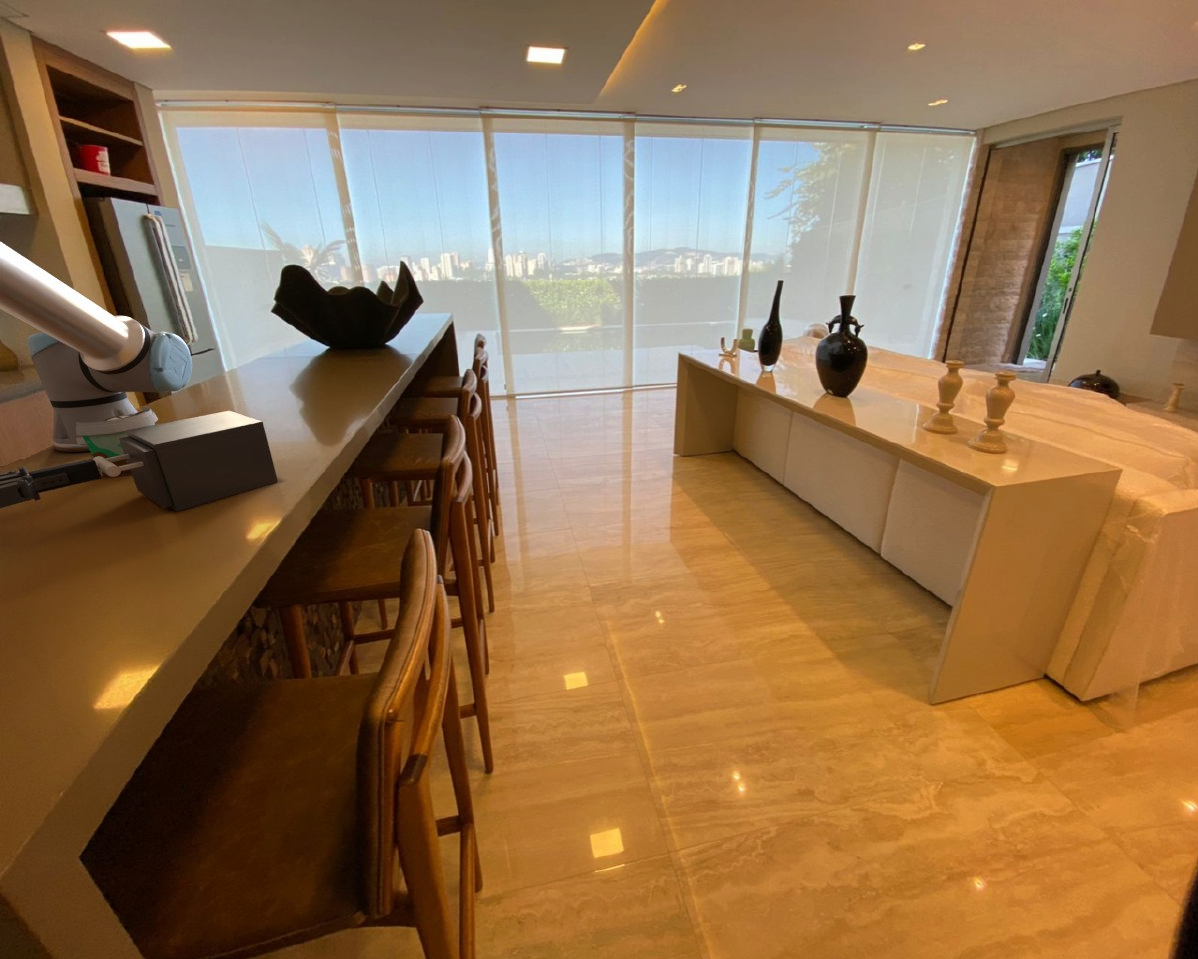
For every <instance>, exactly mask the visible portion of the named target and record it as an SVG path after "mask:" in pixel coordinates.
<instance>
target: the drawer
mask: <svg viewBox="0 0 1198 959" xmlns="http://www.w3.org/2000/svg"><path fill="white" fill-rule="evenodd" d="M119 441H120V443H121V446H122V449H123V451H124V454H125V455H120V456H115V457H111V458H106V459H105V458H103V457H100V456H98V457H95V458H93V457H92V459H93V460H95V462H96V465H97V467H98V470H99V471H100V470H101V471H103V472H104V473H106V474H107V475H109V476H108V477H112V478H114V477H115V478H116V477H119V476H118V475H119V474H120V473H121V471H124V470H128V469H130V471H131V473H132V474H131V476H132V479H133V481H134V485H135V488H136V490H137V492H138V493H140V494H142V495H143V496H145V497H146V498H147V499H149V500H151V501H153V502H154V503H156V504H157V505H158V506H160V507H161V508H163V509H166V508H170V506H173V503H172V500H171V497H170V494H169V491H168V488H167V485H166V482H165V479H164V476H163V474H162V471H161V468H160V465H159V462H158V459H157V456H156V453H155V450H154V449H153V448H151V447H149V446H147V445H146V444H144V443H143V444H142V443H140V442H138V441H136V440H134V439H132V438H130V437H124V438H119ZM124 459H126V460H127V462H128V465H123V466H119V467H118V466H116V465H115V464H113V463H111V462H115V461H119V460H124ZM101 471H100V472H101Z"/></svg>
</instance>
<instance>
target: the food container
mask: <svg viewBox="0 0 1198 959" xmlns="http://www.w3.org/2000/svg"><path fill="white" fill-rule="evenodd" d="M141 409H142V410H141V411H137V412H138V413H135V414H130V415H124V416H115V417H111V418H108V419H106V420H103V421H101V422H90V423H76V425H77V427H76V433H77V435H82V437H83V439H84V440H85V442H86V444H87V446H88V448H89V450H90V451H89V452H90V454H91V456H92V459H93V458H95V457H98V456H100V457H103V458H105V459H106V458H111V457H115V456H120V455H125V454H124V451H123V449H122V446H121V443H120V441H119V438H124V437H128V436H127V434H126V430H130V429H136V428H141V427H146V426H152V425H156V424H155V423H156V422H157V421H159V418H158V417H157V415H156V413H155V411H154V410H152V408H150V407H149V406H141ZM111 463H113V464H115V465H116V466H118V467H119V466H123V465H128V462H127V460H126V459H124V460H119V461H115V462H111ZM99 472H100V474H102V476H103V477H110V476H109V475H107V474H106V473H104V472H103V471H101V470H100V469H99ZM126 475H132V473H131V471H130V469H128V470H124V471H121V473H120V474H119V475H118V476H117V477H119V476H120V477H121V476H126Z"/></svg>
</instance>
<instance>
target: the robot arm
mask: <svg viewBox="0 0 1198 959" xmlns="http://www.w3.org/2000/svg"><path fill="white" fill-rule="evenodd" d="M0 310H2V311H3V312H5V313H6V314H9V315H11V316H12V317H14V318H15V319H18V320H19V321H22V322H23V323H26V324H27V325H29V326H31V327H33V328H35V330H36V329H37V330H38V331H40V332H37V333H33V334H31V335H29V336H28V338H27V340H26V344H27V347H28V350H29V353H30V358H31V361H32V363H33V365H34V368H35V369H36V372H37V375H38V377H39V379H40V382H41V383H42V384H41V385H42V386H43V388H44V390H45V391H44V392H46V396H47V398H48V400H49V402H50V405H51V407H52V410H53V424H52V442H53V446H54V447H55V449H56V450H57V451H59V452H63V453H82V452H90V450H89V448H88V446H87V444H86V442H85V440H84V439H83V437H82V435H77V433H76V427H77V425H76V423H90V422H101V421H103V420H106V419H108V418H111V417H115V416H124V415H130V414H135V413H138V412H139V411H138V410H137V409H136V408H135V407H134V406H133V404H132V403H131V402H130V400H129V398H128V396H127V393H160V394H161V393H162V394H165V393H168V392H177V391H180V390H182V389H184V388H185V387H186V386H187V385H188V383H189V381H190V380H191V377H192V373H193V358H192V356H191V352H190V349H189V347H188V345H187V344H186V342H185V341H184V339H183V338H181V337H180V336H179V335H177V334H175V333H172V332H167V331H160V332H156V331H153V330H151V329H149V328H147V327H146V326H144V325H143V324H142V323H140V322H139V321H137V320H136V319H134V318H132V317H129V316H126V315H113V314H112V313H110V312H109V311H107V310H106V309H105V308H102V307H101V306H100V305H98V304H96V303H95V302H94V301H92V300H90V299H89V298H87V297H86V296H84V295H83V294H81V293H79V291H77V290H75V289H74V288H72V287H71V286H69V285H67V284H66V283H64V282H63V281H61V280H60V279H58V278H57V277H55V276H53V275H52V274H51V273H49V272H48V271H46V270H44V269H43V268H42V267H40V266H38V265H37V264H35V263H34V262H33V261H31V260H29V259H27V258H26V257H25V256H23V255H21V254H20V253H19V252H18V251H15V249H12V248H11V247H10V246H8V245H7V244H5V243H3V242H2V241H0ZM17 469H18V470H9V471H5V472H0V509H4V508H7V507H10V506H14V505H18V504H21V503H25V502H28V501H31V500H34V501H35V502H36V501H40V500H41V499H42V498H41V495H40V494H41V493H45V492H49V491H50V492H51V491H53V490H57V489H63V488H66V487H71V486H75V485H80V484H84V483H88V482H93V481H97V480H102V479H103V478H102V476H101V471H100V469H98V467H97V465H96V462H95V460H93V458H89V459H85V460H78V461H74V462H69V463H64V464H59V465H55V466H50V467H46V468H45V467H44V468H40V469H35V470H30V471H28V470H27V468H26V466H18V467H17Z"/></svg>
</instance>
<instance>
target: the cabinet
mask: <svg viewBox="0 0 1198 959" xmlns="http://www.w3.org/2000/svg"><path fill="white" fill-rule="evenodd" d="M126 434H127V436H128V437H130V438H132V439H134V440H136V441H138V442H140V443H142V444H143V443H144V444H146V445H147V446H149V447H151V448H153V449H154V450H155V453H156V456H157V459H158V462H159V465H160V468H161V471H162V474H163V476H164V479H165V482H166V485H167V488H168V491H169V494H170V497H171V500H172V503H173V506H170V507H169V508H171V509H172V510H173V511H175V512H177V513H178V512H181V511H185V510H187V509H192V508H194V507H198V506H201V505H204V504H208V503H211V502H214V501H217V500H221V499H225V498H228V497H231V496H233V495H238V494H241V493H244V492H248V491H251V490H255V489H258V488H262V487H264V486H265V487H266V486H267V485H271V484H275V483H277V482H279V480H278V475H277V472H276V468H275V463H274V461H273V456H272V452H271V448H270V445H269V441H268V437H267V432H266V429H265V425H264V422H263V421H262V420H259V419H256V418H254V417H250V416H247V415H245V414H244V415H243V414H241V413H237V412H234V411H231V410H226V411H221V412H216V413H215V412H214V413H210V414H204V415H200V416H194V417H190V418H183V419H179V420H174V421H168V422H163V423H158V424H155V425H152V426H146V427H141V428H136V429H130V430H126Z"/></svg>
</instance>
